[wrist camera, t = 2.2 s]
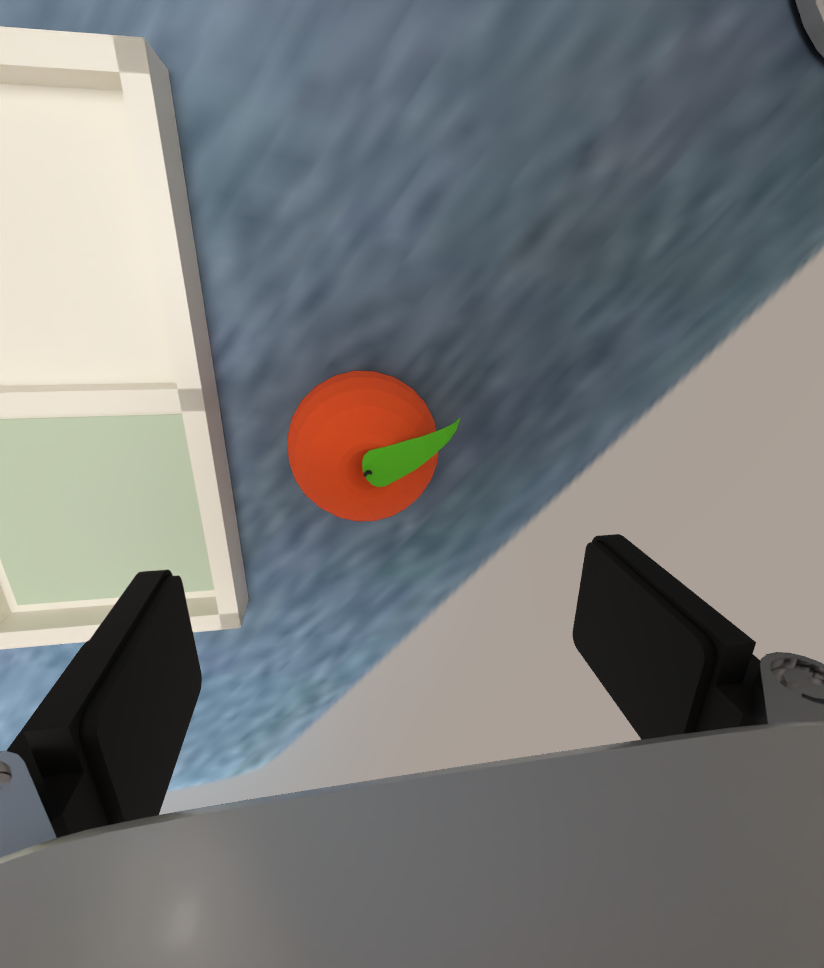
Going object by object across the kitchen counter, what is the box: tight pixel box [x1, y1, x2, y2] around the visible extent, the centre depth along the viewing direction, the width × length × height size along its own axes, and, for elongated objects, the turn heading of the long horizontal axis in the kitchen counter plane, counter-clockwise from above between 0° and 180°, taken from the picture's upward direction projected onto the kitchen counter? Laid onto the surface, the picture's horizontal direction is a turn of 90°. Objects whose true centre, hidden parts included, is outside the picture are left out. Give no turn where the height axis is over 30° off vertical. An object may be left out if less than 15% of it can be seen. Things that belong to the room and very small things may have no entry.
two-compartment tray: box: [0, 27, 249, 649], centre depth 21 cm, size 13×25×2 cm, turn 0°
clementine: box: [288, 371, 460, 521], centre depth 22 cm, size 8×7×7 cm
